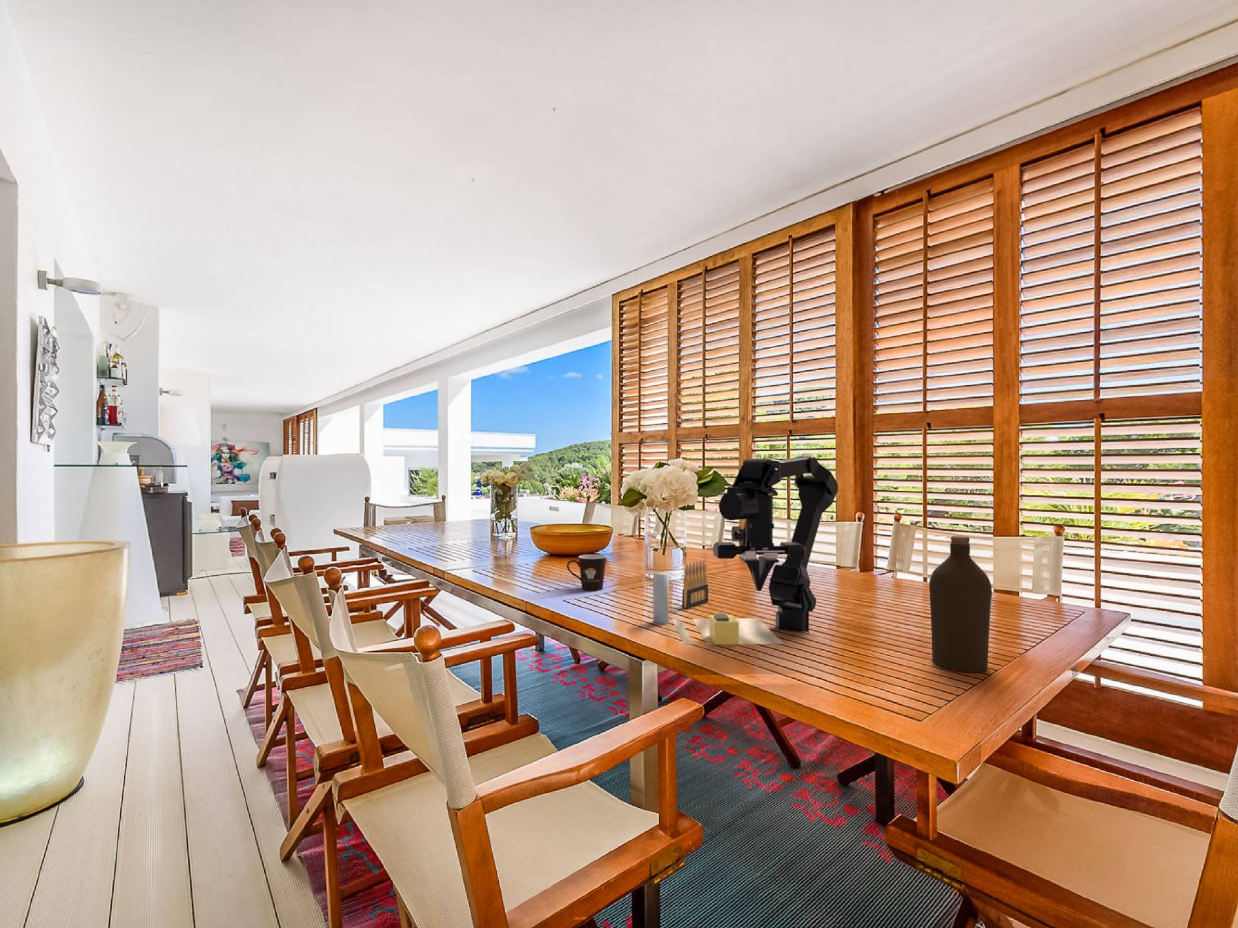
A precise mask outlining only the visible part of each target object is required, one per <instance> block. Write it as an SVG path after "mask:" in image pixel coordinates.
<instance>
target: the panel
mask: <svg viewBox="0 0 1238 928" xmlns="http://www.w3.org/2000/svg"><path fill="white" fill-rule="evenodd" d="M671 619H672V622H673V624H674V626H675V629H676V631H677V634H678V636H679V637H680V640H681V642H682V645H689V646H691V645H694V643H693V641H692V639H691V637H690V635H689V633H688V631H687V629H686V628H685V625H684V624H683V621H682V619H681V618H671ZM735 619H736V620H737V621H738V622H739V644H738V645H784V642H783V641H782V640H781V639H779V637H777V635H775V633H773V631H771V630H770V629H769V628H768V627H767V626H766V625H765V623H763V622H762V621H761V620H760V619H759V618H753V617H752V618H735ZM692 620H693V622H694V625H695V626H696V627H697V629H698V631H699V633H700V634H701V636H702V637H703V639H704V641H705V642H706V644H707V645H715V644H714V642H713V641H712V639H711V637H710V636H709V622H710V618H692Z"/></svg>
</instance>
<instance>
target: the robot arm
mask: <svg viewBox="0 0 1238 928" xmlns="http://www.w3.org/2000/svg"><path fill="white" fill-rule="evenodd" d="M805 474H806V475H805ZM807 474H810V475H807ZM790 477H794V484H795V486H796V487H797V489H798V492H797V494H798V495H797V496H798V499H799V501H800V504H801V507H800V511H799V514H798V517H797V521H796V524H795V528H794V530H793V534H792V537H791V540H790V541H781V542H780V544H779V545H775V543H774V542H773V537H774V536H773V535H774V534H773V531H774V529H775V523H774V519H773V518H774V515H773V514H774V512H773V511H774V500H773V499H774V498H773V497H778V496H779V492H778V491H777V490H776V489H774V487H773V486H775V485H777V484H779V483H781V481H782V479H784V478H790ZM838 492H839V485H838V481H837V480H836V478H835V476H834V474H833V473H832V471H830V470H829V469H828V468H826V467H825V466H823V465H822V464H820V462H819V461H818V459H817V458H816V457H814V456H811V455H807V456H805V455H801V456H800V455H799V456H795V457H792V458H786V459H772V458H769V459H768V458H761V459H760V458H757V459H755V458H754V459H753V458H749V459H748V458H747V459H745V460H744V461H743V462H742V465H741V466H740V468H739V470H738V473H737V475H736V477H735V479H734V481H733V483H732V486H727V487H726V493H725V494H723V495H722V497H721V498H720V501H719V503H718V510H719V513H720V515H721V516H722V517H723V518H724V519H725V520H727V521H741V520H744V526H743V528H742V526H741V525H739V526H737V525H736V526H735V525H734V526H732V527H731V541H716V542H715V543H714V544H713V546H712V548H713V549H712V555H713V556H714V557H716V558H717V559H721V560H723V559H726V560H728V559H729V560H731V559H734V558H735V557H736V556H737V555H738V556H739V560H741V561H742V562H743V563H745V564H746V565H747V568H748V570H749V572H750V575H751V578H752V582H753V584H754V587H755V590H756V591H758V592H762V590H763V588H764V584H765V582H766V580H767V578H768V576H769V573H770V572H771V570H772V574H771V577H770V578H769V583H768V591H769V592H768V593H769V596H770V602H771V605H772V606H777V611H776V612H775V627H776V628H777V629H778V630H781V631H789V632H804V631H805V632H806V633H808V635H810V636H812V634H811V633H810V612H813V611H814V609H816V605H817V598H816V596H815V595H814V594H813V592H812V590H811V589H810V588H811V587H810V586H811V579H810V575H809V573H808V571H807V570H808V569H807V568H808V565H809V560H810V557H811V554H812V551H813V547H814V545H815V541H816V537H817V533H818V529H819V527H820V526H819V525H820V523H821V520H822V515H823V513H825V511H827V510H828V508H830V507H831V506H832V505H833V503H834V501H835V498H836V495H837V493H838ZM735 542H737V543H738V542H739V545H737V544H735ZM757 555H758V557H757ZM778 555H786V558H785V560H784V562H782V563H781V564H777V563H780V559H778Z"/></svg>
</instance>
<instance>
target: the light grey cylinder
mask: <svg viewBox="0 0 1238 928" xmlns="http://www.w3.org/2000/svg"><path fill="white" fill-rule="evenodd" d="M669 575H670V574H669V573H668V572H664V571H663V572H653V575H652V576H653V581H652V582H653V583H652V584H653V585H652V586H653V588H652V589H653V591H652V592H653V594H652V597H653V600H652V601H653V602H652V606H653V607H652V609H653V611H652V612H653V613H652V614H653V616H652V619H653V620H652V623H653V624H654V625H659V626H662V625H663V626H664V625H668V624H670V621H669V612H670V611H669V610H670V608H669V605H670V604H669V600H670V599H669V598H670V595H669V592H670V591H669V590H670V587H669V585H670V576H669Z"/></svg>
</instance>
